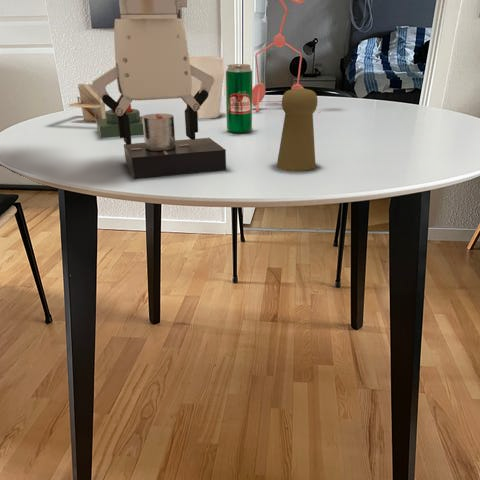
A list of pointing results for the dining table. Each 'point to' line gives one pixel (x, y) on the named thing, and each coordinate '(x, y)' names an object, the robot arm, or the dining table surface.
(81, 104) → the architectural model
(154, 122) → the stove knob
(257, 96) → the pink branching rod frame
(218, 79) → the cup
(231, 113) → the soda can
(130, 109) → the button
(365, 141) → the dining table surface
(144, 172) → the panel
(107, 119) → the block
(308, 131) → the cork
